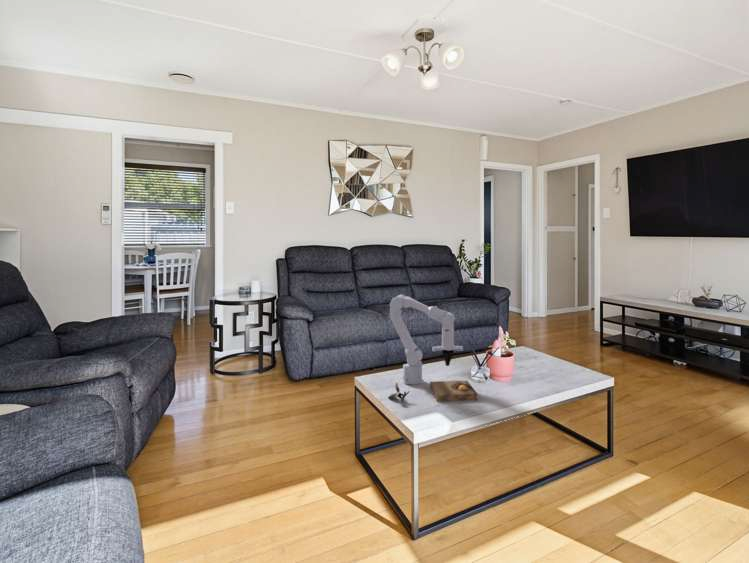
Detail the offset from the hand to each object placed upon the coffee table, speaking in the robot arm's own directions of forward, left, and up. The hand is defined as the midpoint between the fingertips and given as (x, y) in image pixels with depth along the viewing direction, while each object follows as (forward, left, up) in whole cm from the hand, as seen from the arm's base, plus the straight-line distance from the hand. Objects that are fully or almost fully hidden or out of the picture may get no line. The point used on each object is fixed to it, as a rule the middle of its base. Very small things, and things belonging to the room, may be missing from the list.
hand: (447, 365), depth 195 cm
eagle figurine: (-26, -15, -10) cm, 32 cm away
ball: (+5, -11, -8) cm, 14 cm away
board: (0, -11, -10) cm, 15 cm away
